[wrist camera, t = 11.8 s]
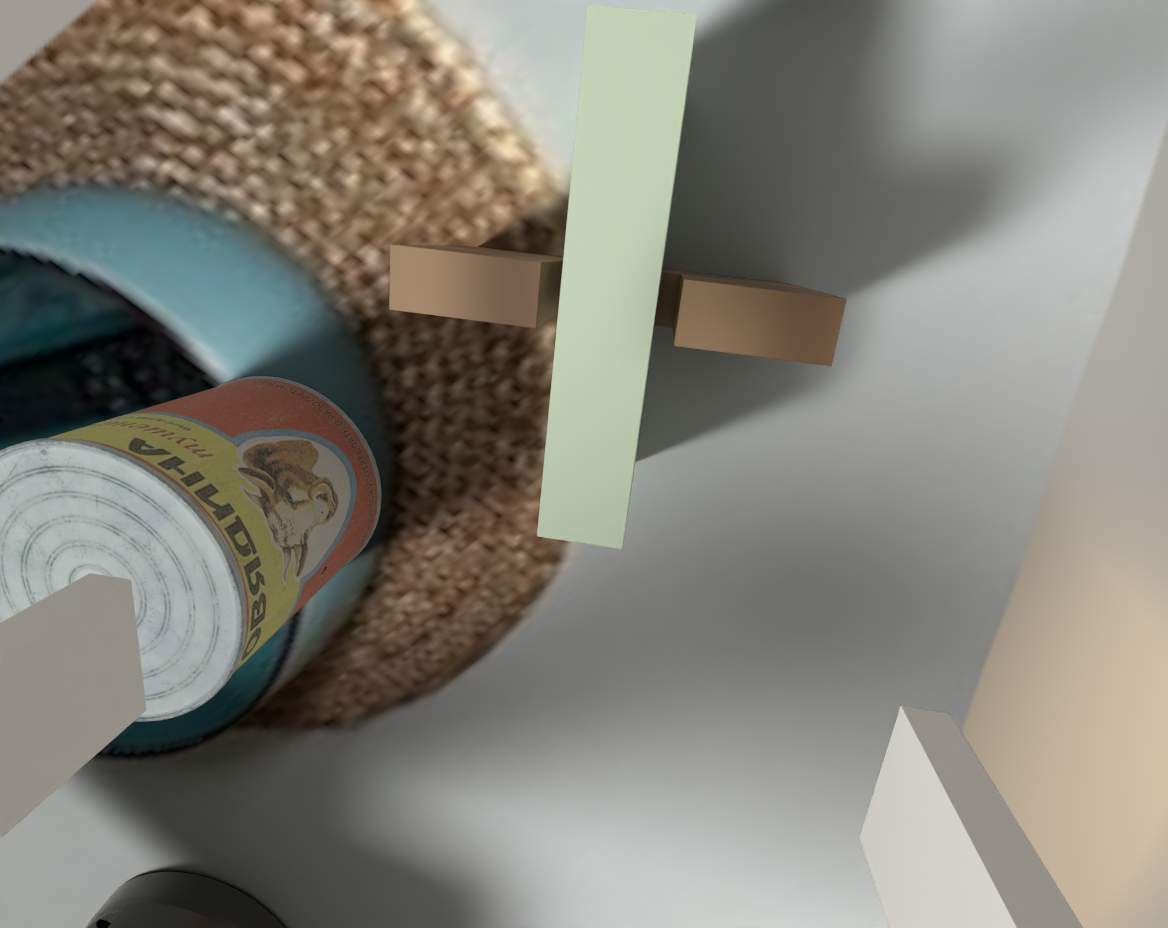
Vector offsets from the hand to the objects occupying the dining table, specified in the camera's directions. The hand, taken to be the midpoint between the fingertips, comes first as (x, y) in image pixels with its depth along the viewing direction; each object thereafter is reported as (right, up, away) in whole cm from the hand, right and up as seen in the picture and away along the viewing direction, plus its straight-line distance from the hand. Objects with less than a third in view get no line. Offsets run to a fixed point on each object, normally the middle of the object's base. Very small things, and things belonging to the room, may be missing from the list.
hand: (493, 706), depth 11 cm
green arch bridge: (+3, +12, +19) cm, 22 cm away
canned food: (-15, +3, +24) cm, 28 cm away
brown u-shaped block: (+4, +12, +19) cm, 22 cm away
